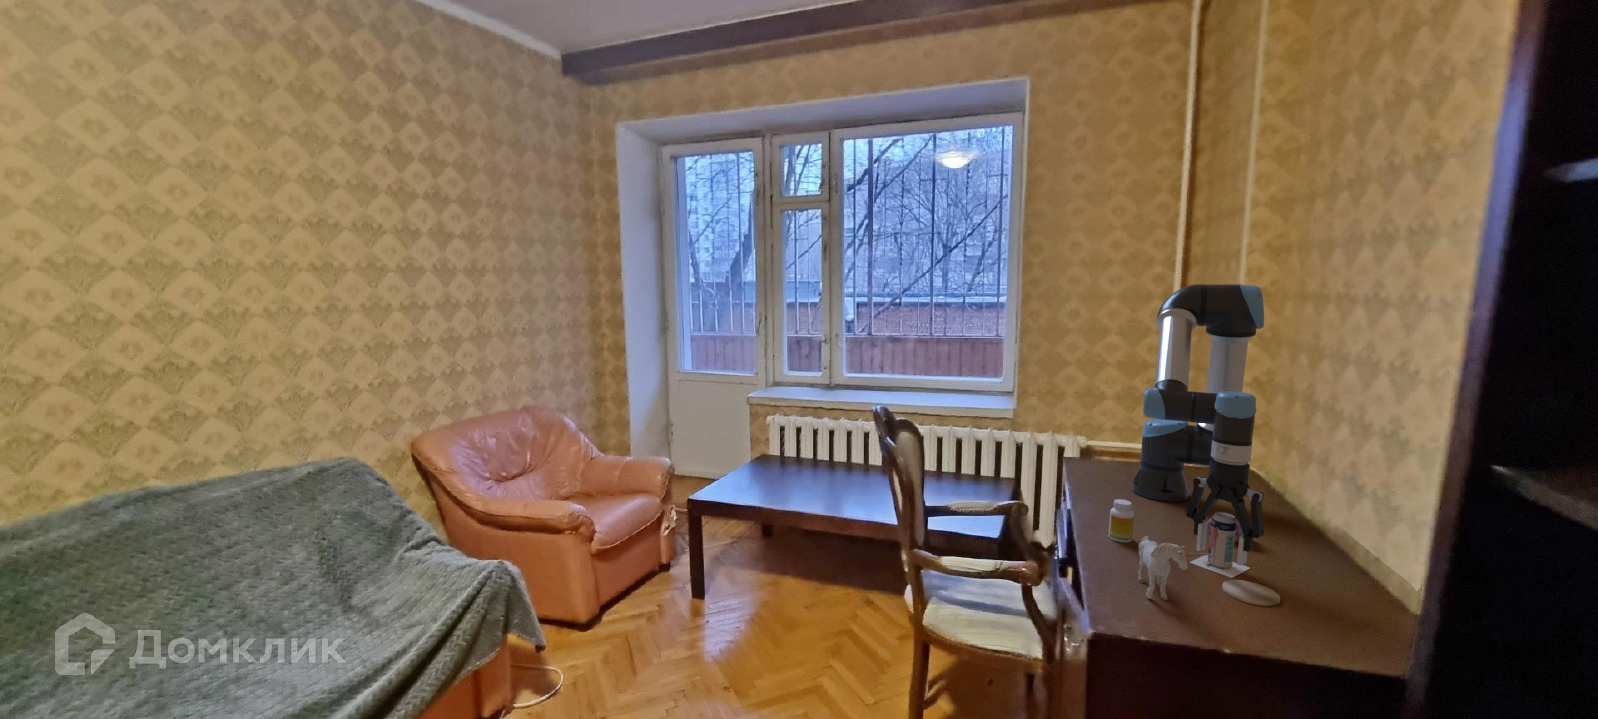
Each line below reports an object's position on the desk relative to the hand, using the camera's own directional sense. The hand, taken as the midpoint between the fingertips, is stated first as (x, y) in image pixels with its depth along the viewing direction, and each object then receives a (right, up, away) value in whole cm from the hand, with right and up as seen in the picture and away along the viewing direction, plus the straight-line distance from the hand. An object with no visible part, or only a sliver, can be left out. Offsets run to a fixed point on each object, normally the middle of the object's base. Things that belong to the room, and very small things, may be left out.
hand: (1220, 556), depth 148 cm
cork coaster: (-2, -4, -13) cm, 14 cm away
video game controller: (+12, -1, +16) cm, 20 cm away
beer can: (0, -2, 0) cm, 2 cm away
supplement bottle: (-16, 0, +15) cm, 22 cm away
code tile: (0, -2, 0) cm, 2 cm away
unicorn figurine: (-20, -4, -13) cm, 24 cm away
